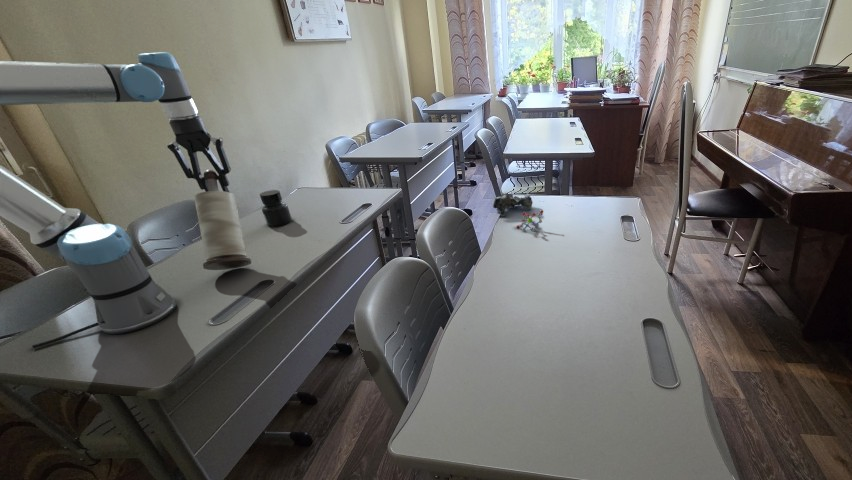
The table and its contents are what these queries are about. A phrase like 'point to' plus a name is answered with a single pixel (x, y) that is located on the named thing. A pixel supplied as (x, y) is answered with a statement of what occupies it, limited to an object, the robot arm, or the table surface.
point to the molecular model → (530, 221)
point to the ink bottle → (275, 208)
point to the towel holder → (220, 227)
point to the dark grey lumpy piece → (511, 202)
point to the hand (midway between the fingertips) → (220, 197)
